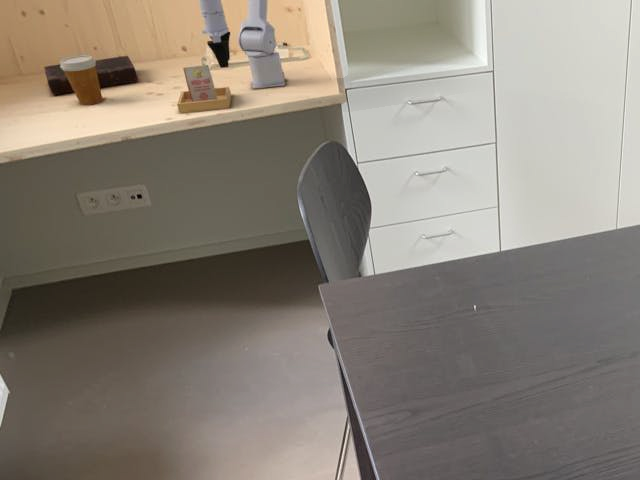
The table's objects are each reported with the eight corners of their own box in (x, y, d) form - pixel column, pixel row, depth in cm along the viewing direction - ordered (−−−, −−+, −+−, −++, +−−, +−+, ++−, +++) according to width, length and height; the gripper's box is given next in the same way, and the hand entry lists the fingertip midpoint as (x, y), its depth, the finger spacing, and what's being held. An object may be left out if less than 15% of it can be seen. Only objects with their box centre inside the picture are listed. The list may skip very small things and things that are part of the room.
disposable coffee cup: (74, 99, 236) (59, 57, 228) (108, 94, 238) (94, 53, 231) (73, 108, 228) (57, 65, 221) (108, 103, 231) (94, 60, 224)
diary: (139, 82, 248) (134, 66, 245) (53, 96, 239) (46, 79, 236) (131, 69, 261) (126, 53, 258) (49, 82, 252) (43, 65, 249)
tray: (231, 95, 233) (229, 86, 232) (229, 107, 224) (227, 98, 222) (183, 100, 231) (181, 91, 230) (179, 113, 221) (177, 104, 220)
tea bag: (193, 101, 228) (183, 66, 222) (217, 99, 229) (208, 63, 223) (192, 105, 225) (182, 69, 219) (217, 102, 226) (207, 66, 220)
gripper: (199, 7, 219) (212, 58, 228) (195, 18, 208) (209, 71, 216) (225, 5, 221) (237, 56, 229) (222, 16, 209) (235, 69, 217)
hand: (225, 63), depth 223 cm, fingers open, 7 cm apart
